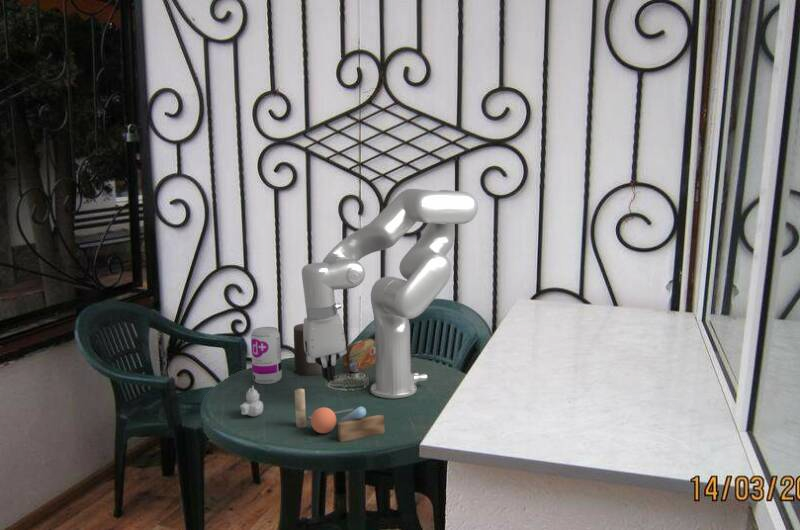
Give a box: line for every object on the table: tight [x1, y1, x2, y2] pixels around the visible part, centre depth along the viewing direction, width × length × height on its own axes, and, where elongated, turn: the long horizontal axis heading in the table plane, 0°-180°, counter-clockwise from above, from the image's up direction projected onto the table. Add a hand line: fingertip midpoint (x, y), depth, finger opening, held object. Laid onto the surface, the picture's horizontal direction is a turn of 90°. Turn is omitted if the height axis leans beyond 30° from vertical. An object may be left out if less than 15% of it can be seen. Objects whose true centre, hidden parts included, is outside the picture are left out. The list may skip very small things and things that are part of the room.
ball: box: [310, 406, 337, 434], centre depth 170 cm, size 6×6×6 cm
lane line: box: [307, 408, 355, 420], centre depth 182 cm, size 12×1×1 cm, turn 116°
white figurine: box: [239, 385, 264, 417], centre depth 181 cm, size 5×7×8 cm
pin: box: [339, 406, 367, 423], centre depth 170 cm, size 2×2×9 cm
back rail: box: [337, 413, 386, 443], centre depth 167 cm, size 11×2×4 cm, turn 116°
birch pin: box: [294, 388, 307, 429], centre depth 174 cm, size 2×2×9 cm
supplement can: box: [250, 326, 283, 385], centre depth 207 cm, size 8×8×15 cm
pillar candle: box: [293, 322, 328, 377], centre depth 215 cm, size 10×10×15 cm
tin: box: [342, 338, 376, 374], centre depth 217 cm, size 15×3×8 cm, turn 147°
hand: (329, 379), depth 186 cm, fingers closed
